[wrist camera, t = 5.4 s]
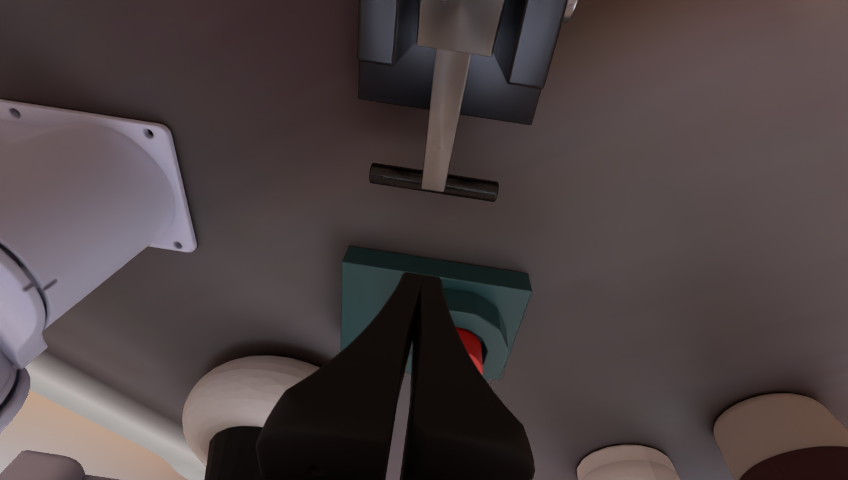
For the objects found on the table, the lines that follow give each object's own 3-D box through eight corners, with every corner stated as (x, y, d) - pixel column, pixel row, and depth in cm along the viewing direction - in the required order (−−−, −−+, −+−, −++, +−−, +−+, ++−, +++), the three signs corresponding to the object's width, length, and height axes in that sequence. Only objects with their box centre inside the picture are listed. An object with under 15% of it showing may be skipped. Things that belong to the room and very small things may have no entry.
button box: (346, 337, 28) (332, 377, 25) (349, 245, 24) (332, 281, 21) (498, 360, 28) (502, 404, 25) (528, 273, 24) (537, 313, 21)
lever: (495, 178, 19) (493, 218, 18) (376, 160, 19) (366, 199, 18) (594, -88, 10) (602, -41, 9) (361, -124, 10) (339, -81, 9)
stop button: (417, 362, 24) (414, 386, 23) (425, 320, 22) (422, 344, 21) (474, 371, 24) (475, 396, 23) (487, 330, 22) (488, 354, 21)
